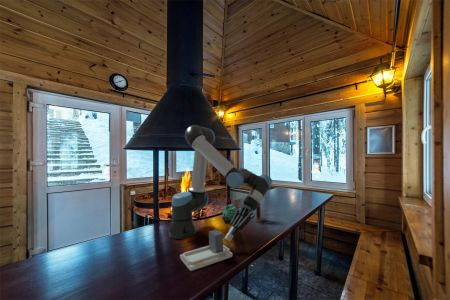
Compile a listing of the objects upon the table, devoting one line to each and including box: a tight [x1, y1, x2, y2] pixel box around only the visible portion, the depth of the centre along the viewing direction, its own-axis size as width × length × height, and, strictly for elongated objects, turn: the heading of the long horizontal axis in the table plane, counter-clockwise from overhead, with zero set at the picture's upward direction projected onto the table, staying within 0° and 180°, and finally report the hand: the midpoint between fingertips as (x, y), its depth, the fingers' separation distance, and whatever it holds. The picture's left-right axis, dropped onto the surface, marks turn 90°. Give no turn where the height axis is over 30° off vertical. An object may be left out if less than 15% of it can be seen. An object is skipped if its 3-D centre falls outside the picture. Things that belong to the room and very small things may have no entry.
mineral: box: [221, 203, 237, 222], centre depth 140 cm, size 18×16×10 cm
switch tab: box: [208, 229, 224, 254], centre depth 90 cm, size 4×6×8 cm, turn 33°
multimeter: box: [255, 202, 270, 225], centre depth 136 cm, size 15×10×20 cm
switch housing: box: [179, 244, 233, 272], centre depth 87 cm, size 20×12×2 cm, turn 122°
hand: (227, 239), depth 93 cm, fingers closed
